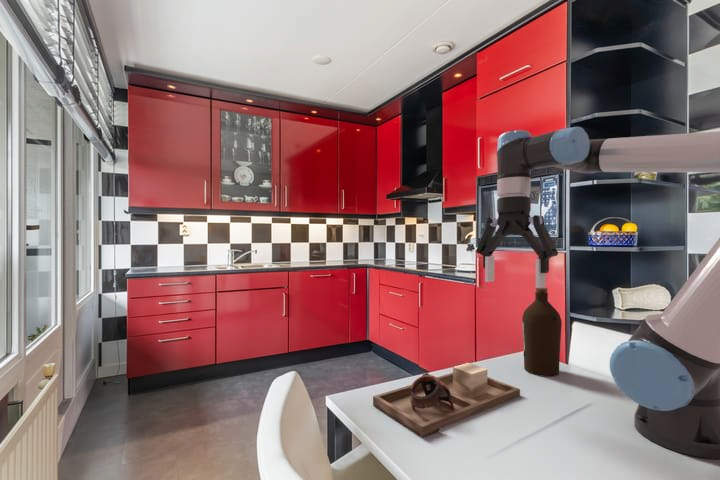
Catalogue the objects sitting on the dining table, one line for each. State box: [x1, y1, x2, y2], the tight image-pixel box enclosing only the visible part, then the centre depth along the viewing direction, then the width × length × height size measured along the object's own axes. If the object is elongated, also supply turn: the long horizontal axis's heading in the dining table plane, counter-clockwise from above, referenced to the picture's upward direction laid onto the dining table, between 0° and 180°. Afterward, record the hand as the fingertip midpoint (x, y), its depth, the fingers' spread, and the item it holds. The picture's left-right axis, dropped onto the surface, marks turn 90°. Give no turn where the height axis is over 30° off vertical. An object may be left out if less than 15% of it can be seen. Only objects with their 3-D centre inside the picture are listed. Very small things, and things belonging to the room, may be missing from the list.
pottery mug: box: [410, 372, 454, 410], centre depth 85 cm, size 12×10×8 cm
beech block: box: [452, 362, 488, 399], centre depth 93 cm, size 6×6×6 cm
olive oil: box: [521, 287, 563, 377], centre depth 109 cm, size 11×11×25 cm
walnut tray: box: [372, 372, 521, 438], centre depth 89 cm, size 17×33×2 cm, turn 124°
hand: (513, 284), depth 88 cm, fingers open, 13 cm apart
